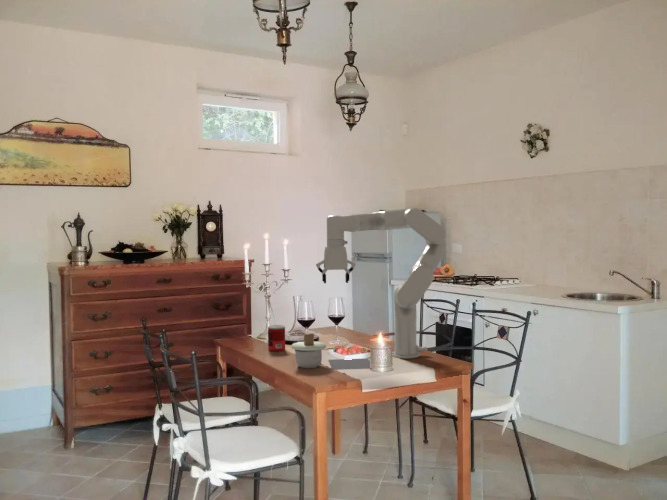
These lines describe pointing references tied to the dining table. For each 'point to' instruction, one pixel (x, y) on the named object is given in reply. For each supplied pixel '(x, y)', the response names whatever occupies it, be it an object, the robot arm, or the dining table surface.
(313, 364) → the teacup
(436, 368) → the dining table surface
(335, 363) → the mat
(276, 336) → the canned food
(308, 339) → the lid
